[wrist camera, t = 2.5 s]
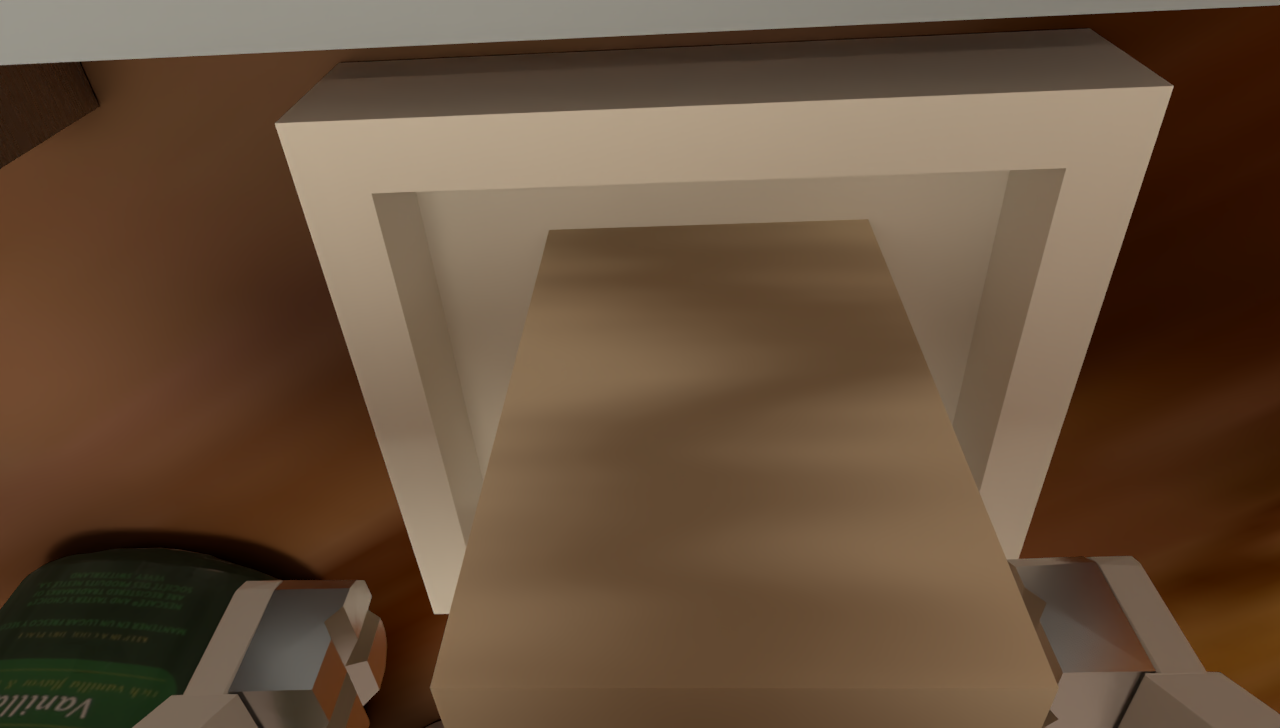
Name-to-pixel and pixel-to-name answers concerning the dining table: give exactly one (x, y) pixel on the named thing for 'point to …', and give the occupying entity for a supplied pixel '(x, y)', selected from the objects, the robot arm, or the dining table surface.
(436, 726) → the coffee cup
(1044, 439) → the tray
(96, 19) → the grey hollow frame
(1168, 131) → the dining table surface
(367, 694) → the robot arm
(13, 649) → the coffee jar
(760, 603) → the block
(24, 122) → the dark grey square housing
